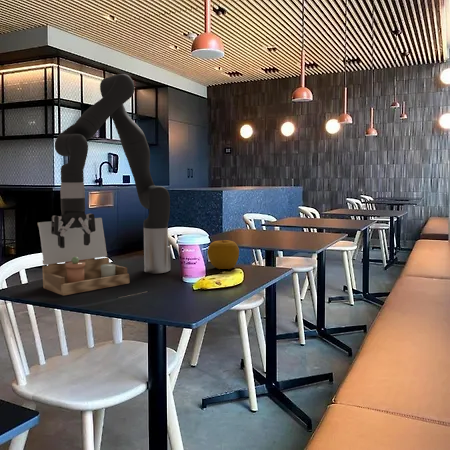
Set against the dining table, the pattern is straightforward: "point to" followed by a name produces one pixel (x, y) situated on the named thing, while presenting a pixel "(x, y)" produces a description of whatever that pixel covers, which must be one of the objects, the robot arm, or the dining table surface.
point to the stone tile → (132, 294)
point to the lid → (71, 243)
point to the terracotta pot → (75, 270)
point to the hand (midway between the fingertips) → (74, 246)
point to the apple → (223, 254)
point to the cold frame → (92, 274)
